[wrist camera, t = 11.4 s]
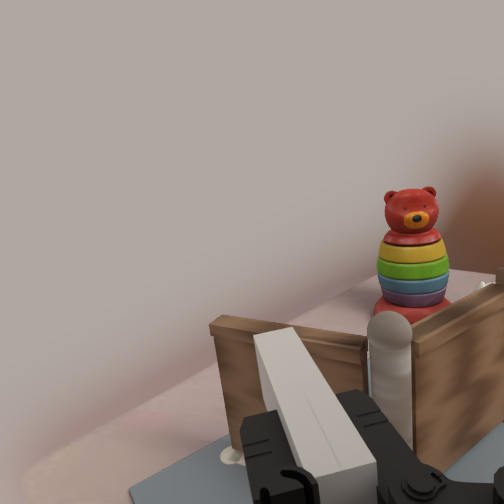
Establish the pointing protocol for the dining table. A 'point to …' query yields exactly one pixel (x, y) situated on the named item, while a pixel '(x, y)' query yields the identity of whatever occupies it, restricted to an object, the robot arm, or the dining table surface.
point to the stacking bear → (412, 256)
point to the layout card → (236, 480)
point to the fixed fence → (442, 374)
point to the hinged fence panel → (247, 373)
